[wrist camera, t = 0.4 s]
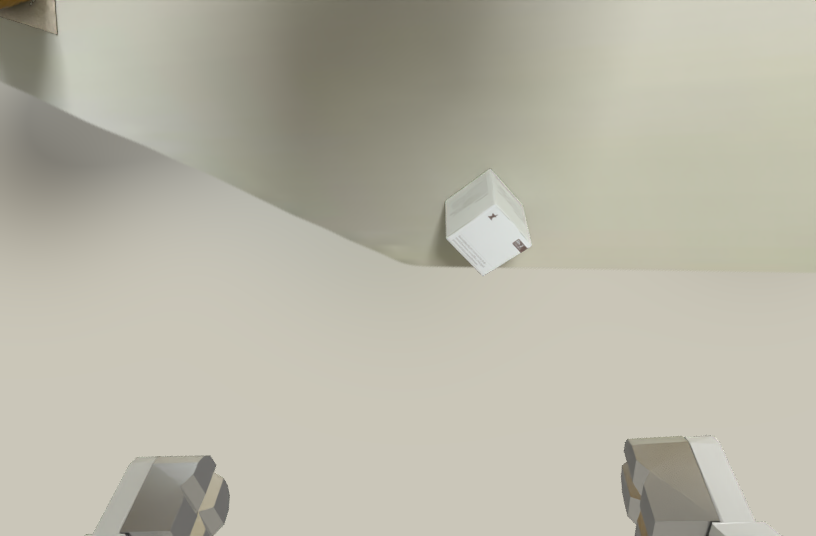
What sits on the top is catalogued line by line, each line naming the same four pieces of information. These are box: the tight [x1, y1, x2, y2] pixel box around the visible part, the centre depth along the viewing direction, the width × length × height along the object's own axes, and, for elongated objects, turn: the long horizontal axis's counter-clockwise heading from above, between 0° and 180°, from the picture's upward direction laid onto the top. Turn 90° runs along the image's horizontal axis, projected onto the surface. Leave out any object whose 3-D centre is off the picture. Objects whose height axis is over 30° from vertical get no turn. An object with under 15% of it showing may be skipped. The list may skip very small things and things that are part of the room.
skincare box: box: [445, 169, 532, 276], centre depth 57 cm, size 6×6×7 cm
